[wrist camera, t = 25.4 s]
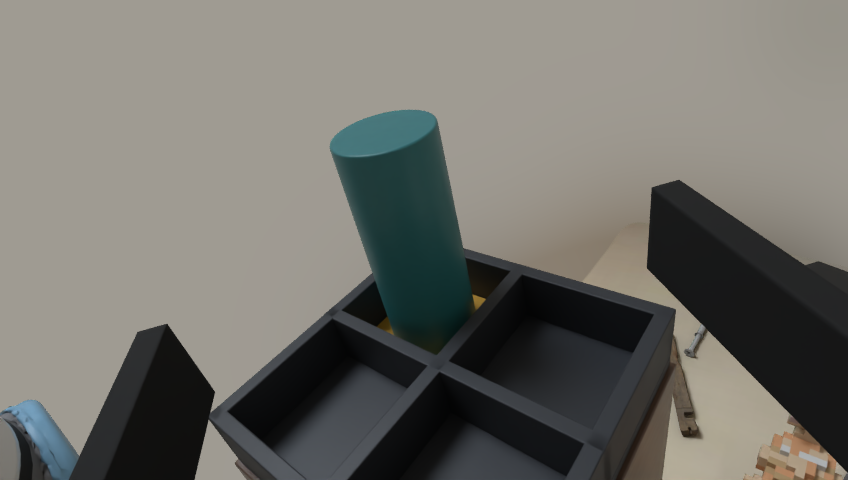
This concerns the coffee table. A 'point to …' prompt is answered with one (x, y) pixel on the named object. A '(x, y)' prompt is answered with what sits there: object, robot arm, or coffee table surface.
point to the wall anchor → (695, 341)
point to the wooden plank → (682, 398)
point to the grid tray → (459, 387)
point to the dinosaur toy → (795, 458)
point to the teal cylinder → (407, 223)
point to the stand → (647, 450)
